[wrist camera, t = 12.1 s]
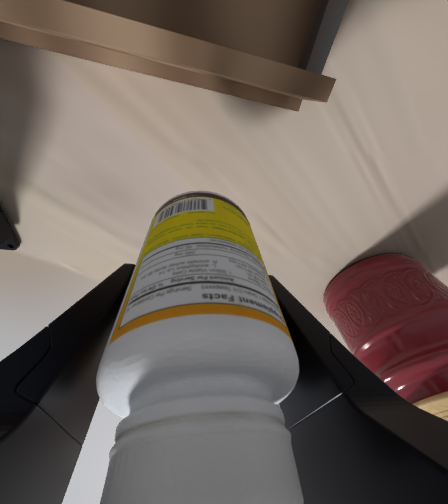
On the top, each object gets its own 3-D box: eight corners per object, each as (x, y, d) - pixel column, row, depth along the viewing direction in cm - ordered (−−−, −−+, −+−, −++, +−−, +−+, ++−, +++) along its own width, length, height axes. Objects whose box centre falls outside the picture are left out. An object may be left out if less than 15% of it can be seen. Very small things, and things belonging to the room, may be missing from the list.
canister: (380, 235, 24) (626, 441, 10) (435, 270, 28) (654, 441, 15) (302, 301, 30) (385, 478, 17) (357, 320, 35) (457, 470, 21)
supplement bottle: (213, 279, 14) (226, 515, 6) (135, 243, 12) (4, 551, 4) (269, 222, 12) (407, 496, 4) (185, 161, 9) (99, 561, 1)
